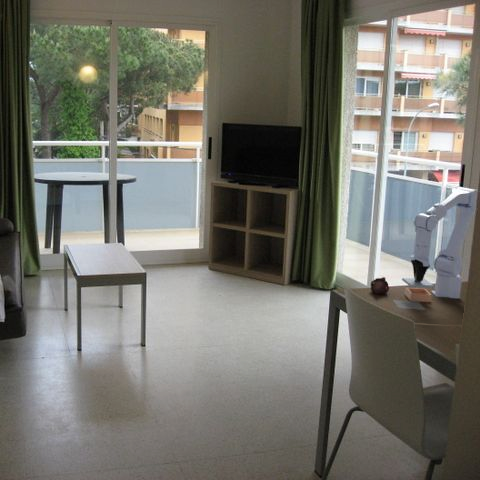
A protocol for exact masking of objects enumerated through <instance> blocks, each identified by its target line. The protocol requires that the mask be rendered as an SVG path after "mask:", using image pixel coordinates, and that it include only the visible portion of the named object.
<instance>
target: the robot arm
mask: <svg viewBox="0 0 480 480" xmlns="http://www.w3.org/2000/svg"><path fill="white" fill-rule="evenodd" d="M478 190H479V189H474V188H469V187H462V186H459V185H458V186H457V185H456V186H454V187H453V189H451V191H450V195H449V196H448V197H446V199H444V200H443V201H442V202H441V203H434V204H433V206H432V207H430V208H429V209H427V210H426V211H425V212H424V213H419V214H417V215H416V217H414V220H413V225H414V231H415V238H414V240H415V241H414V248H413V252H412V255H409V257H410V259H411V260H410V262H411V264H412V268H413V269H412V270H413V278H415V274H416V280H417V281H422V280H423V279H425V275H426V272H427V271H428V269H429V268H430V266H431V265H430V251H431V242H432V235H433V233H432V232H433V231H434V230H435V229H436V227H437V224H438V223H439V222H440V221H441V220H442V219H443V218H445V217H446V216H447V213H448V211H449V210H451V209H452V208H453V207H455V208H456V209H458V212H459V213H458V217H457V219H456V222H455V224H454V227H453V229H452V232H451V234H450V237H449V240H448V243H447V246H446V248H445V249H442V250H440V251H439V252H438V254H437V256H436V257H435V258H434V261H433V268H434V270H435V273H436V278H435V286H434V290H431V292H432V293H433V294H434V295H435V296H436V297H437V298H438V297H440V298H450V299H459V300H460V298H461V290H462V281H463V280H462V276H461V275H460V273H461V271H462V269H463V262H464V259H463V257H462V255H461V254H460V253H461V252H460V251H461V249H462V246H463V243H464V241H465V239H466V236H467V233H468V230H469V228H470V225H471V223H472V220H473V217H474V214H475V213H476V212H475V210H476V199H477V191H478ZM476 211H477V210H476Z"/></svg>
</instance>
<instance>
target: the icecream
mask: <svg viewBox="0 0 480 480" xmlns="http://www.w3.org/2000/svg"><path fill="white" fill-rule="evenodd" d="M370 290H371V292H372V293H374V294H380V295H386V294H387V293H388V292H389V290H390V286H389V283H388V281H387V280H386V277H385V276H383V277H380V278H379V277H377V278H375V279H372V281H371V283H370Z"/></svg>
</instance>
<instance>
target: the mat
mask: <svg viewBox="0 0 480 480" xmlns="http://www.w3.org/2000/svg"><path fill="white" fill-rule="evenodd" d="M392 302H393V303H394V305H395V306H396V307H397V308H398V309H403V310H421V311H422V310H425V311H426V308H425V307H424V306H423V305H422V304H421V303H420V302H419V301H410V300H402V299H401V300H399V299H392Z"/></svg>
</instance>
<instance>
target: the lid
mask: <svg viewBox="0 0 480 480" xmlns="http://www.w3.org/2000/svg"><path fill="white" fill-rule="evenodd" d="M401 280H402V281H403V283H405V284H407V285H408V286H409V288H434V284H432V283H431V282H429V281H428V280H427V279H425V278H423V280H422V281H417V280H416V274H415V278H414V277H413V278H412V277H402V279H401Z"/></svg>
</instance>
